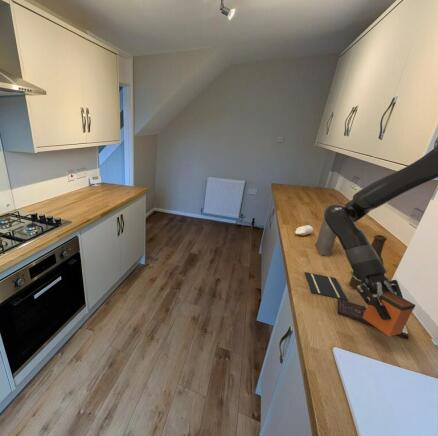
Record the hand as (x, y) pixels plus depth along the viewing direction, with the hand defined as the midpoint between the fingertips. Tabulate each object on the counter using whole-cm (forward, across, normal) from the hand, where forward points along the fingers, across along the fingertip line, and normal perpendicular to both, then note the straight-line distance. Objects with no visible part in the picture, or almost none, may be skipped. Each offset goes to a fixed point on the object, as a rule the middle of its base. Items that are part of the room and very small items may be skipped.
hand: (393, 317), depth 69 cm
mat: (-13, +10, +28) cm, 33 cm away
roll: (-50, +43, +57) cm, 87 cm away
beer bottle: (-9, +24, +25) cm, 36 cm away
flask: (-31, +39, +47) cm, 69 cm away
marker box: (+2, 0, +5) cm, 5 cm away
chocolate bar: (+1, +9, +15) cm, 17 cm away
